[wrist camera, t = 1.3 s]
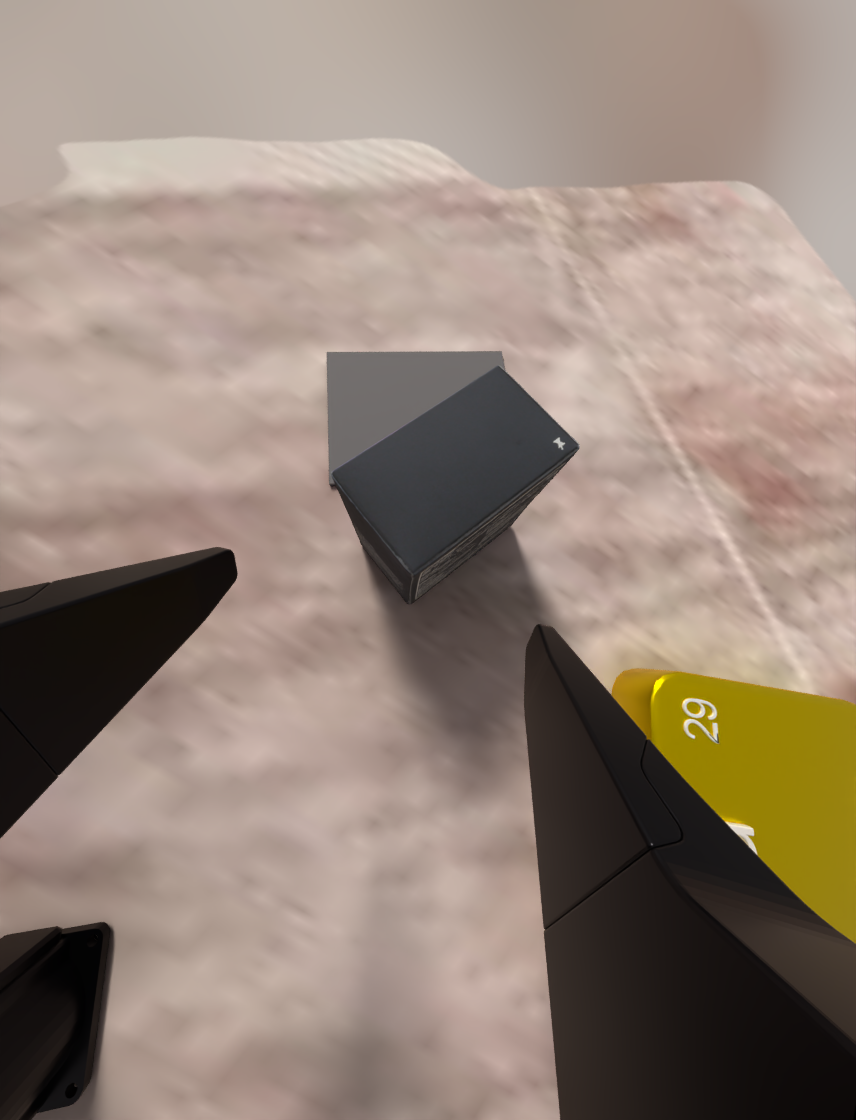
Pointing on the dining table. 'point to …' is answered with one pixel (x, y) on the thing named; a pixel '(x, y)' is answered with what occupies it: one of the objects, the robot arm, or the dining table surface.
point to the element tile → (764, 773)
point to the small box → (451, 480)
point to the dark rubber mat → (390, 392)
